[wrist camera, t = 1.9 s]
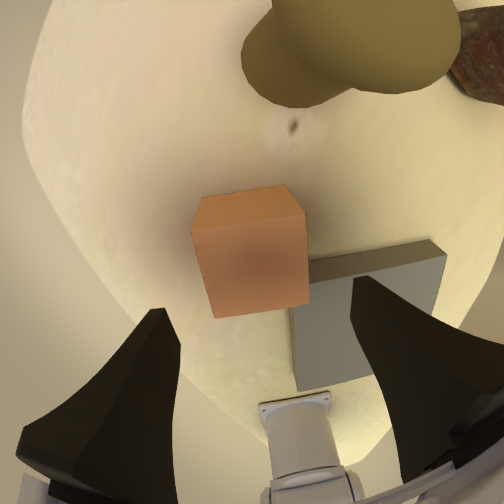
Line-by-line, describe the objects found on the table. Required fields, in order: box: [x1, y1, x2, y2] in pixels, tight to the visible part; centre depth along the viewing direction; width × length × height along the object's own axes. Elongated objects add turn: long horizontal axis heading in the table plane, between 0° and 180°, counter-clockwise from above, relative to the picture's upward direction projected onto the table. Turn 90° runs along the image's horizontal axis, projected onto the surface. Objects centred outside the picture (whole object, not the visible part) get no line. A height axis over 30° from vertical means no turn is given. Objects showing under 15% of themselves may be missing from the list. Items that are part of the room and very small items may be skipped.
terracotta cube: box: [191, 185, 309, 318], centre depth 15 cm, size 5×5×5 cm
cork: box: [241, 0, 461, 108], centre depth 8 cm, size 6×6×11 cm
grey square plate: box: [289, 239, 447, 392], centre depth 21 cm, size 12×12×3 cm
